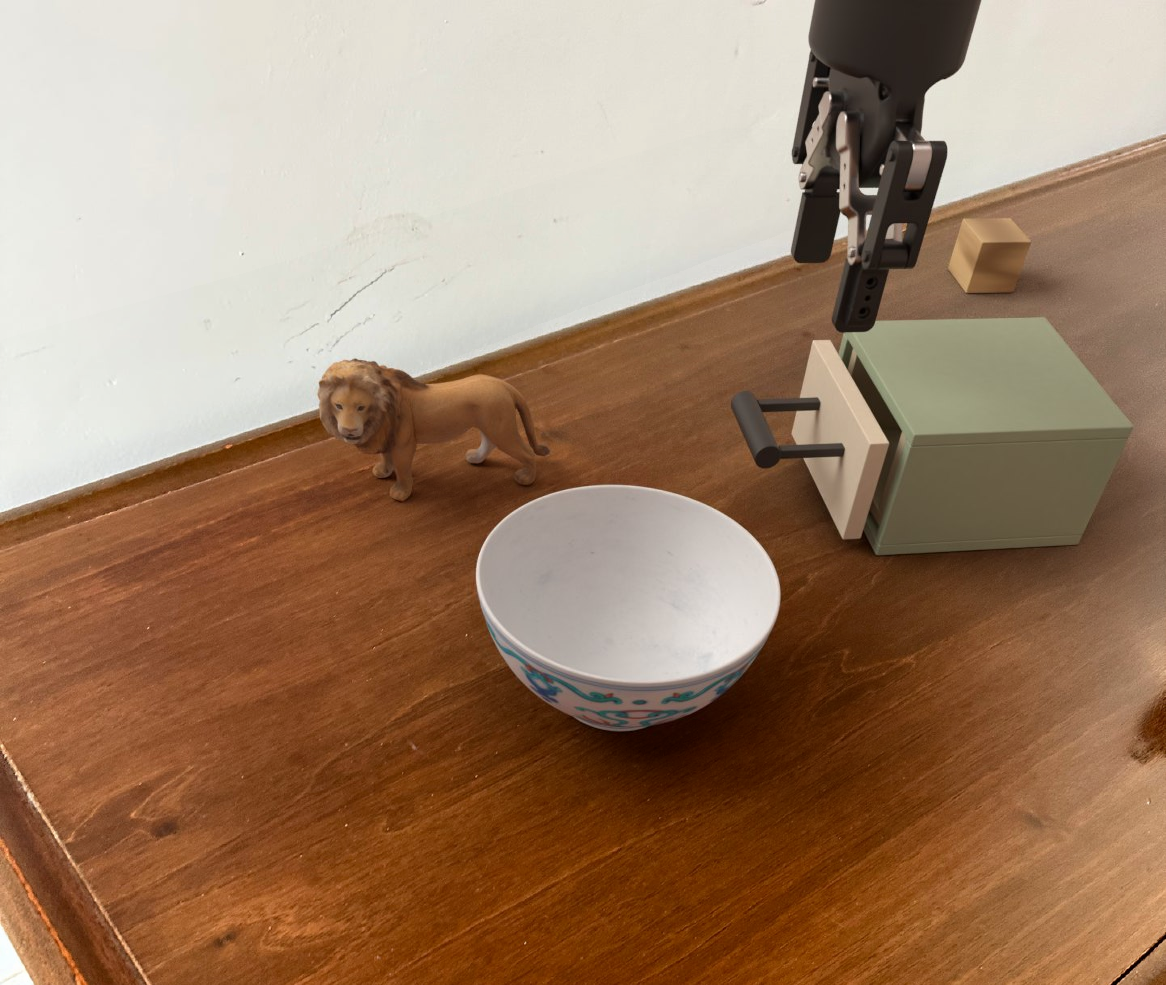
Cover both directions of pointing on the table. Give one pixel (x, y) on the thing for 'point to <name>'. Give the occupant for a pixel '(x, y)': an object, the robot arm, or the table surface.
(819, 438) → the drawer
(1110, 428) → the cabinet
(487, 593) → the chinaware
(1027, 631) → the table surface
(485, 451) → the lion figurine
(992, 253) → the birch block
